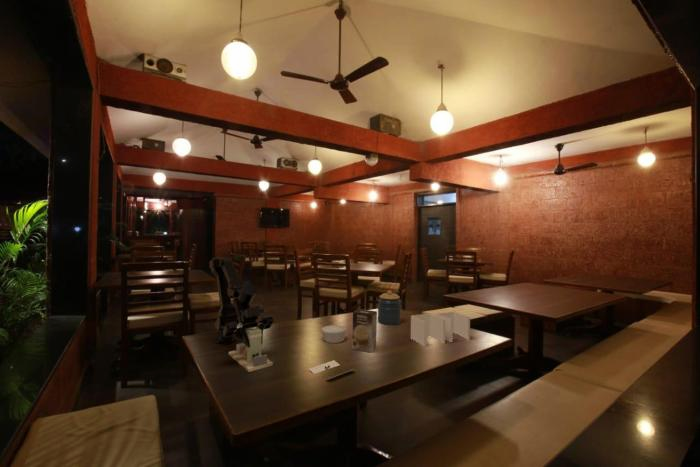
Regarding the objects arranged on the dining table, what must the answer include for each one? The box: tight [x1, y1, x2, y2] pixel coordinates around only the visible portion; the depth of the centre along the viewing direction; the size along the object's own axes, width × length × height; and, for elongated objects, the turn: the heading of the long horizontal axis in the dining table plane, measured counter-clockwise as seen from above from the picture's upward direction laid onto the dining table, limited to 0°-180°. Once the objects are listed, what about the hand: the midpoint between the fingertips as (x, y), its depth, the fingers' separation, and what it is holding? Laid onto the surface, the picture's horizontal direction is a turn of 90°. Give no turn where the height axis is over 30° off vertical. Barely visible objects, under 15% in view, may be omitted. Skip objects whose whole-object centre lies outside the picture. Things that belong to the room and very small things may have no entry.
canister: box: [377, 290, 402, 326], centre depth 176 cm, size 13×13×18 cm
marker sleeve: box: [246, 328, 262, 362], centre depth 119 cm, size 3×4×11 cm
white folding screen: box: [410, 311, 471, 347], centre depth 148 cm, size 25×11×11 cm, turn 111°
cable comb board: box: [228, 349, 274, 373], centre depth 122 cm, size 20×9×1 cm, turn 40°
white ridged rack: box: [235, 342, 268, 367], centre depth 121 cm, size 18×5×3 cm, turn 40°
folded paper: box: [308, 360, 355, 381], centre depth 112 cm, size 12×12×2 cm
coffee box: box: [351, 308, 378, 354], centre depth 135 cm, size 9×6×16 cm
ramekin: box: [321, 324, 347, 344], centre depth 146 cm, size 11×11×5 cm
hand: (255, 345), depth 118 cm, fingers closed on marker sleeve, 4 cm apart
